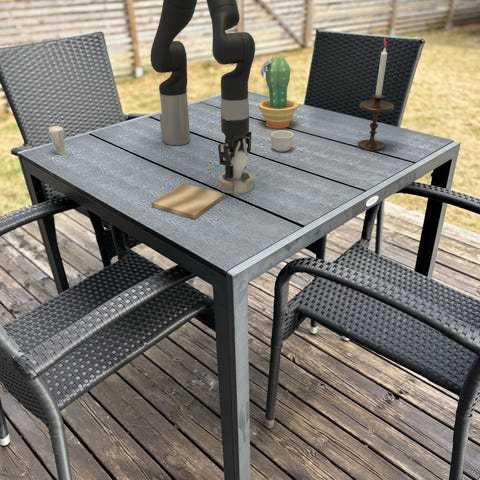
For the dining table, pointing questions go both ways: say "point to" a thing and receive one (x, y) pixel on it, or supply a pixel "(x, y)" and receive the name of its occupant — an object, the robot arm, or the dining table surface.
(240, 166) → the lightbulb
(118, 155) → the dining table surface
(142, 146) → the dining table surface
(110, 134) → the dining table surface
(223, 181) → the collar
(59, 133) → the milkshake
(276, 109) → the potted cactus
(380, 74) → the candlestick
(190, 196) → the oak board
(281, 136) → the teacup
